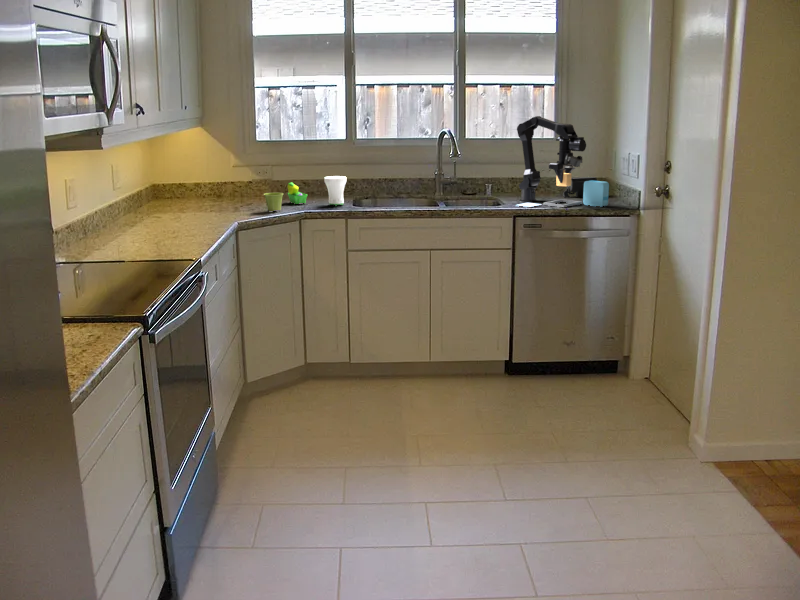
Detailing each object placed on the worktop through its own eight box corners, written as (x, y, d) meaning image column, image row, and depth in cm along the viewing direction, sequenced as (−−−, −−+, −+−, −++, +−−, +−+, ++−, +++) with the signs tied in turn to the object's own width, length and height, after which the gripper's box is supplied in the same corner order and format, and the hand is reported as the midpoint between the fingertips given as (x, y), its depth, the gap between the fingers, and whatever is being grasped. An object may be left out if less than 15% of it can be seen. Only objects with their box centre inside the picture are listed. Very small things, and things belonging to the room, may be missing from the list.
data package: (608, 206, 380) (609, 182, 377) (602, 207, 377) (603, 182, 374) (588, 203, 389) (589, 179, 386) (582, 204, 386) (583, 180, 383)
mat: (515, 206, 385) (515, 204, 385) (527, 203, 391) (527, 202, 391) (530, 207, 378) (530, 206, 378) (542, 205, 385) (542, 204, 385)
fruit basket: (308, 204, 399) (307, 182, 396) (292, 205, 395) (291, 183, 392) (301, 201, 409) (300, 180, 406) (285, 203, 405) (284, 181, 402)
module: (556, 185, 384) (556, 173, 383) (560, 184, 387) (561, 172, 385) (566, 186, 380) (566, 174, 378) (571, 185, 383) (571, 173, 381)
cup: (351, 205, 393) (350, 177, 389) (331, 207, 388) (330, 179, 384) (341, 202, 402) (340, 175, 399) (321, 204, 397) (320, 177, 393)
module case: (543, 205, 385) (543, 202, 384) (561, 202, 396) (561, 199, 395) (563, 208, 377) (563, 205, 376) (581, 204, 387) (582, 201, 387)
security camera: (560, 196, 416) (561, 177, 413) (592, 195, 420) (593, 176, 417) (566, 198, 409) (567, 179, 406) (598, 196, 413) (599, 177, 411)
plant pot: (273, 209, 383) (272, 192, 381) (288, 210, 379) (287, 193, 377) (260, 212, 376) (259, 194, 373) (275, 213, 371) (274, 195, 369)
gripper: (568, 152, 367) (566, 185, 371) (589, 150, 380) (588, 182, 384) (548, 151, 375) (547, 183, 379) (570, 149, 387) (569, 180, 392)
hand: (563, 182), depth 383 cm, fingers closed on module, 4 cm apart
